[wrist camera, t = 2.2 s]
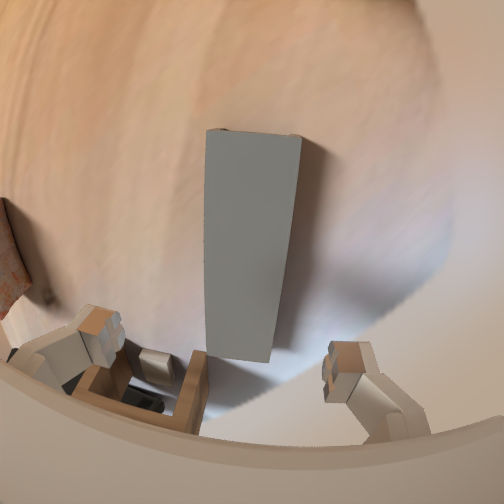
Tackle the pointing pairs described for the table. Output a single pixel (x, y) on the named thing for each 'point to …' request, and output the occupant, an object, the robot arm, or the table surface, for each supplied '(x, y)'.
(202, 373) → the wooden arch
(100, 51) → the table surface
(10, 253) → the food item
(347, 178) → the table surface
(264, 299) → the grey channel riser
